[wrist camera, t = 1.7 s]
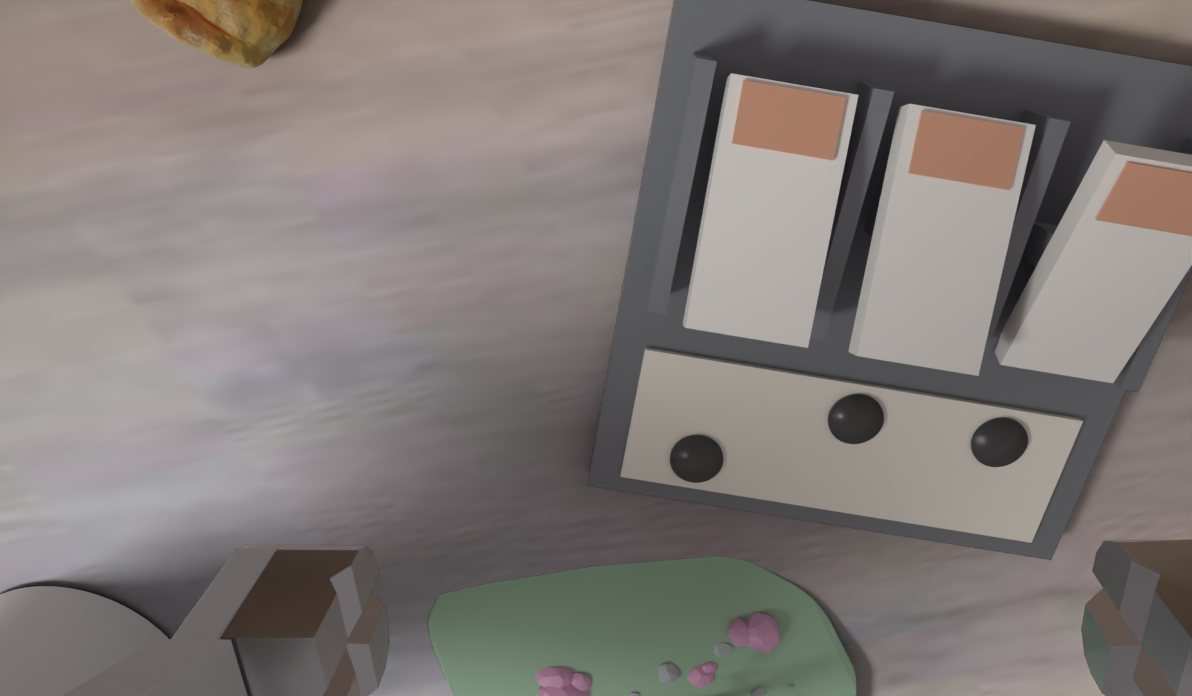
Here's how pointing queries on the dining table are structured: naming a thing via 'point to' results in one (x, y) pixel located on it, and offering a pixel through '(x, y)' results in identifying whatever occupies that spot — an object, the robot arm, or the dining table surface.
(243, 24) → the pastry
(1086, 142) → the switch unit
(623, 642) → the plant
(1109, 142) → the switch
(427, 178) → the dining table surface
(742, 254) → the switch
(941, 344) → the switch middle
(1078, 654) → the dining table surface
